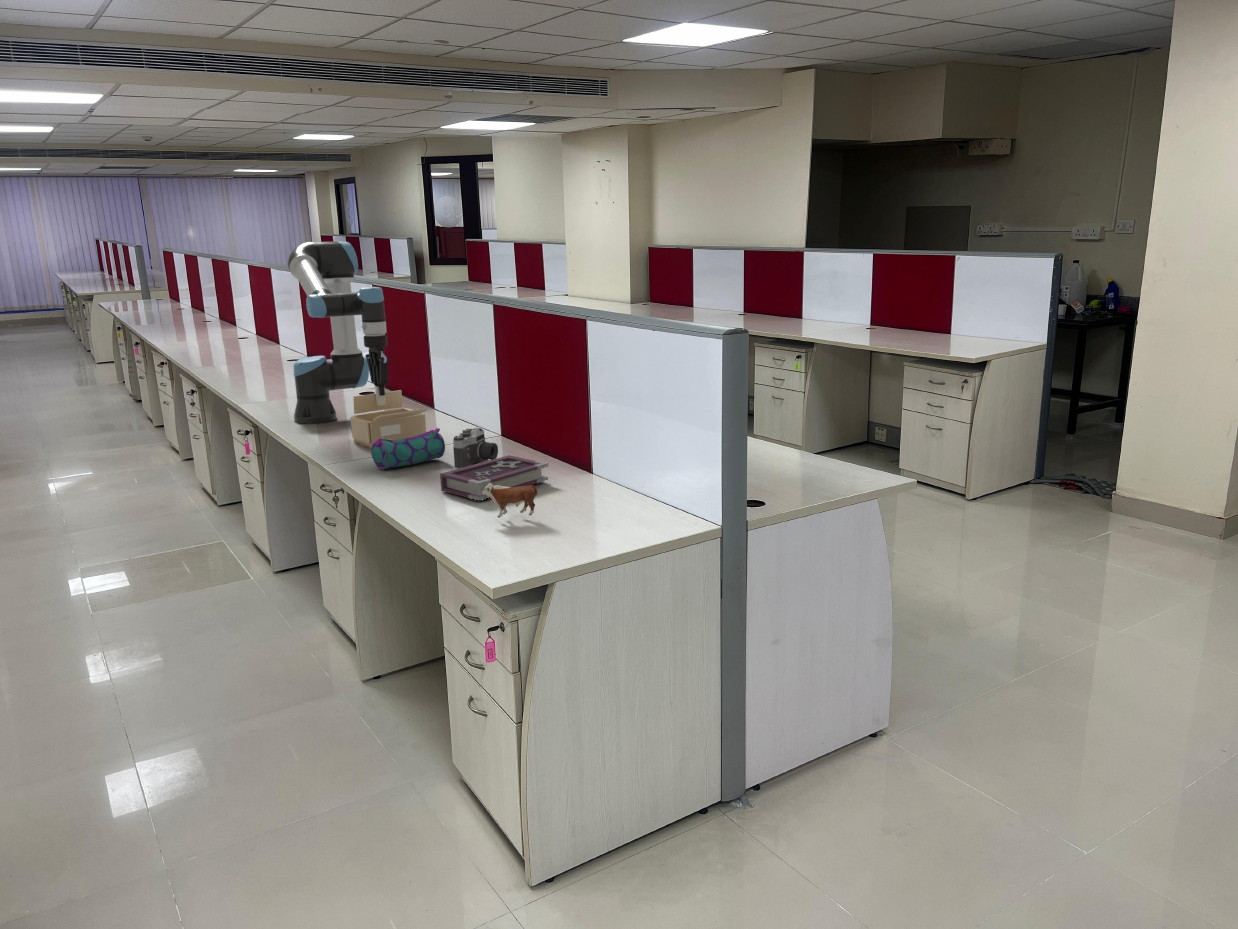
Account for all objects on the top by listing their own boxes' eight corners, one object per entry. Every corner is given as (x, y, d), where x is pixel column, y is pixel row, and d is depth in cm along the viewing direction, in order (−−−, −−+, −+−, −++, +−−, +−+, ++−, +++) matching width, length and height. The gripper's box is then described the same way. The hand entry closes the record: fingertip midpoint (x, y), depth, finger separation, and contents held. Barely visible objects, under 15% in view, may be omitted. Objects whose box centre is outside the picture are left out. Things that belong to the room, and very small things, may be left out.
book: (479, 501, 231) (478, 483, 230) (441, 491, 241) (439, 473, 240) (548, 480, 249) (548, 463, 248) (510, 471, 260) (509, 454, 258)
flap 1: (354, 413, 296) (353, 396, 294) (401, 406, 307) (400, 389, 305) (354, 414, 296) (353, 396, 294) (401, 406, 307) (401, 390, 304)
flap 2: (421, 413, 296) (428, 409, 291) (373, 420, 285) (380, 416, 281) (420, 411, 296) (428, 407, 291) (372, 419, 285) (379, 415, 281)
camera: (482, 470, 260) (480, 437, 258) (451, 468, 263) (449, 435, 261) (504, 457, 275) (503, 425, 272) (475, 455, 278) (473, 424, 275)
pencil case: (385, 473, 259) (382, 441, 257) (371, 467, 266) (368, 436, 263) (447, 460, 272) (445, 429, 270) (433, 455, 279) (430, 425, 276)
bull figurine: (483, 513, 220) (481, 481, 218) (538, 510, 221) (536, 479, 219) (482, 518, 216) (480, 486, 213) (538, 516, 217) (536, 484, 215)
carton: (351, 442, 298) (349, 416, 295) (407, 432, 310) (405, 407, 308) (371, 450, 287) (368, 423, 284) (428, 439, 299) (426, 413, 297)
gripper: (356, 334, 295) (362, 403, 301) (372, 337, 286) (379, 408, 292) (377, 332, 300) (383, 400, 306) (394, 334, 290) (400, 405, 296)
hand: (381, 404), depth 299 cm, fingers closed
